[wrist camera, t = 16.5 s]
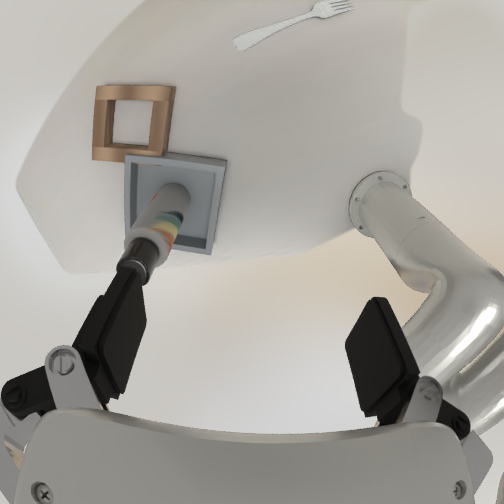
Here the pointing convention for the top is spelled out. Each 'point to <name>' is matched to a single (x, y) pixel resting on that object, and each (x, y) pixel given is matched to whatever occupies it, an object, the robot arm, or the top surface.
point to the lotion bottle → (155, 231)
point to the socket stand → (105, 118)
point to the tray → (187, 175)
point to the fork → (289, 23)
